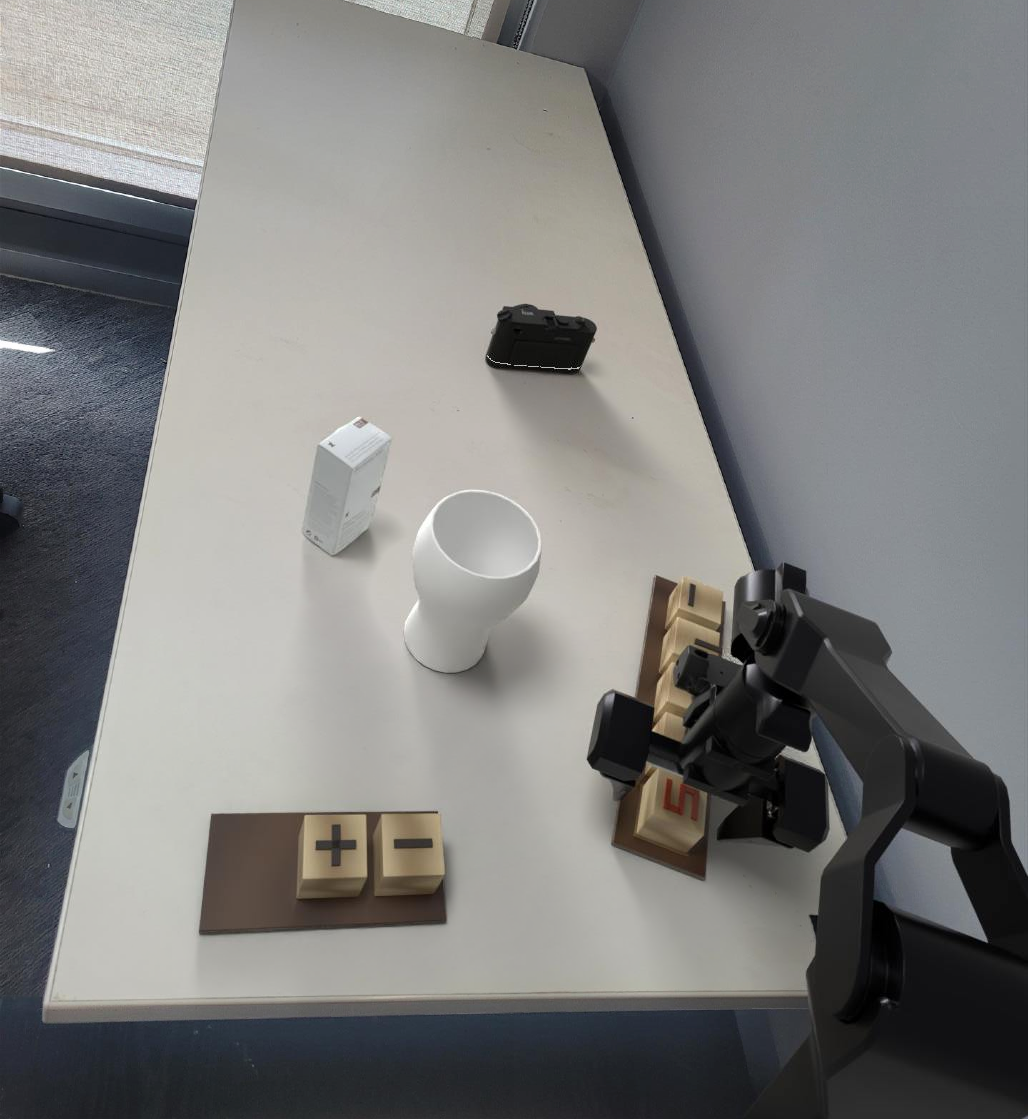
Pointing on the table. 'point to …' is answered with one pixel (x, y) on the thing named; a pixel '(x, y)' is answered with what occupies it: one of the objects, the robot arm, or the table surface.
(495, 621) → the cup
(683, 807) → the letter s tile
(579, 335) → the camera
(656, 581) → the letter block display
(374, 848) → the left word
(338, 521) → the cosmetic box
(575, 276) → the table surface
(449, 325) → the table surface
